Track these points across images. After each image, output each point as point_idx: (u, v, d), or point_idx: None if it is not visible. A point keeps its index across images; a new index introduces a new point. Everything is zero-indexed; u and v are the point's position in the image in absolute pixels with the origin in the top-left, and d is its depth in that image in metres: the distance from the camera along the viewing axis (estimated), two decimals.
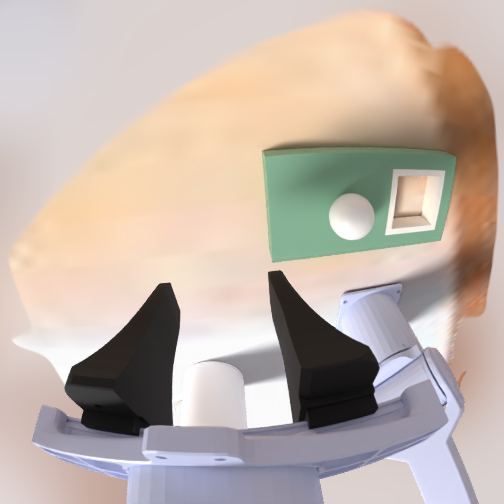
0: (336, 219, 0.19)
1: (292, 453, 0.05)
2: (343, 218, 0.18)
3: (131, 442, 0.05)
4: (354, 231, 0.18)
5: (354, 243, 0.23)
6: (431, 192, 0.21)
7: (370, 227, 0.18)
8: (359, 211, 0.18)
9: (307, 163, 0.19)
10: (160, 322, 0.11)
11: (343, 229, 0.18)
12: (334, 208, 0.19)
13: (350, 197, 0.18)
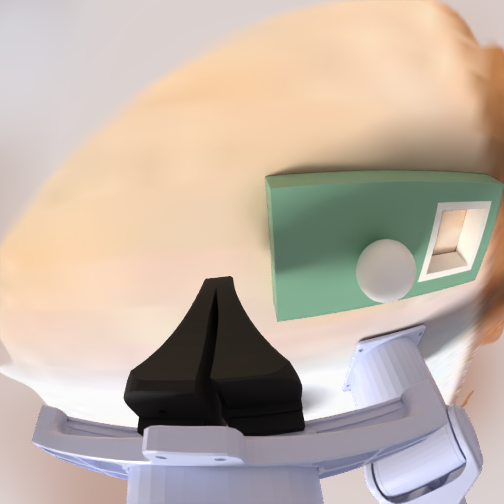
0: (368, 280, 0.13)
1: (292, 453, 0.05)
2: (378, 279, 0.12)
3: (131, 442, 0.05)
4: (391, 296, 0.13)
5: None
6: (472, 226, 0.16)
7: (410, 288, 0.13)
8: (400, 270, 0.12)
9: (330, 198, 0.13)
10: (214, 318, 0.11)
11: (376, 292, 0.13)
12: (366, 263, 0.13)
13: (388, 248, 0.13)
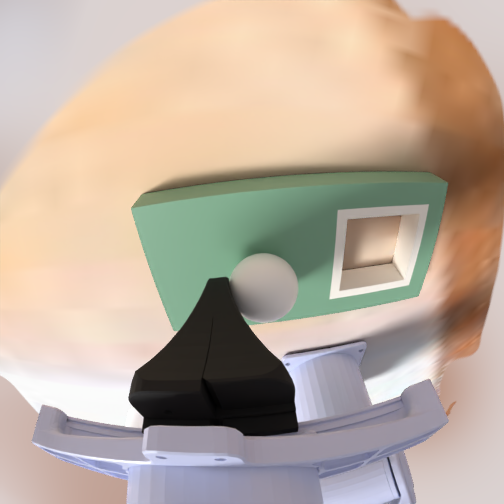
0: (234, 299, 0.13)
1: (292, 453, 0.05)
2: (242, 299, 0.12)
3: (131, 442, 0.05)
4: (261, 317, 0.12)
5: None
6: (406, 234, 0.16)
7: (288, 307, 0.13)
8: (266, 288, 0.12)
9: (190, 213, 0.13)
10: None
11: (244, 312, 0.13)
12: (231, 281, 0.13)
13: (254, 264, 0.13)
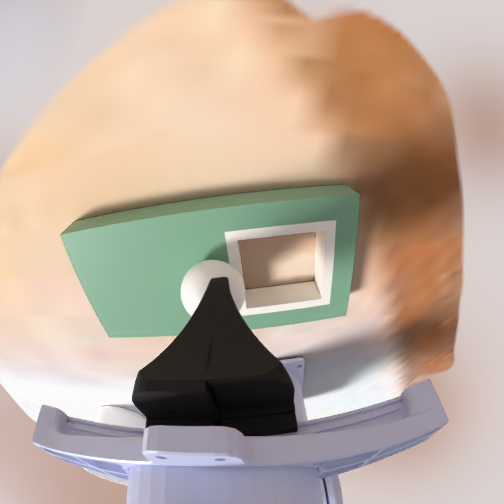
0: (234, 292, 0.13)
1: (292, 453, 0.05)
2: (236, 282, 0.14)
3: (131, 442, 0.05)
4: None
5: None
6: (320, 252, 0.17)
7: None
8: (226, 264, 0.14)
9: (100, 238, 0.14)
10: None
11: (243, 292, 0.14)
12: None
13: (206, 267, 0.14)
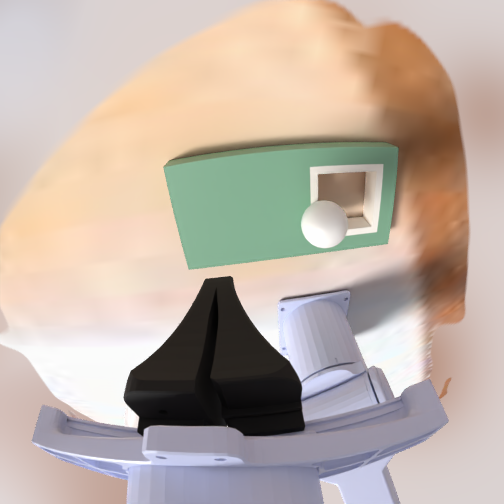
0: None
1: (292, 453, 0.05)
2: None
3: (131, 442, 0.05)
4: None
5: (274, 249, 0.23)
6: (370, 190, 0.21)
7: None
8: None
9: (206, 169, 0.19)
10: (214, 318, 0.11)
11: None
12: (347, 220, 0.19)
13: (337, 205, 0.19)
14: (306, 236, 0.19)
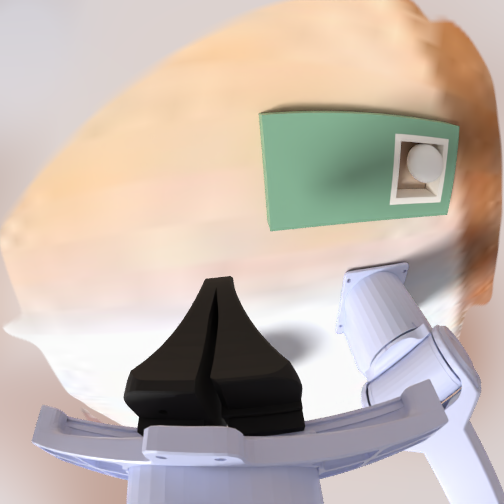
0: (416, 179, 0.20)
1: (292, 453, 0.05)
2: (412, 175, 0.20)
3: (131, 442, 0.05)
4: (411, 169, 0.19)
5: (357, 212, 0.21)
6: None
7: (411, 154, 0.19)
8: None
9: (305, 123, 0.17)
10: (214, 318, 0.11)
11: (414, 177, 0.20)
12: None
13: None
14: (438, 152, 0.18)
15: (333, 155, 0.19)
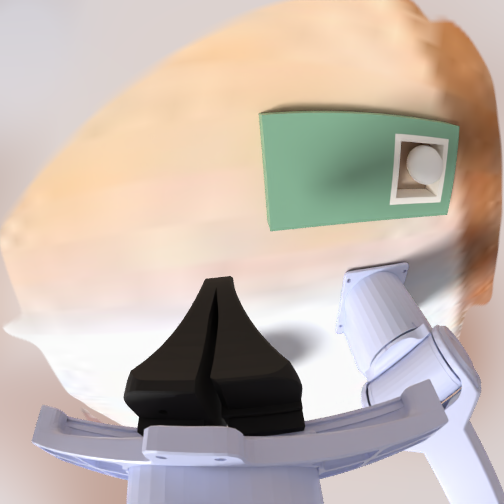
0: None
1: (292, 453, 0.05)
2: None
3: (131, 442, 0.05)
4: (410, 171, 0.20)
5: (357, 212, 0.21)
6: None
7: (412, 156, 0.19)
8: None
9: (305, 123, 0.17)
10: (214, 318, 0.11)
11: (413, 178, 0.20)
12: None
13: None
14: (439, 156, 0.18)
15: (333, 155, 0.19)
